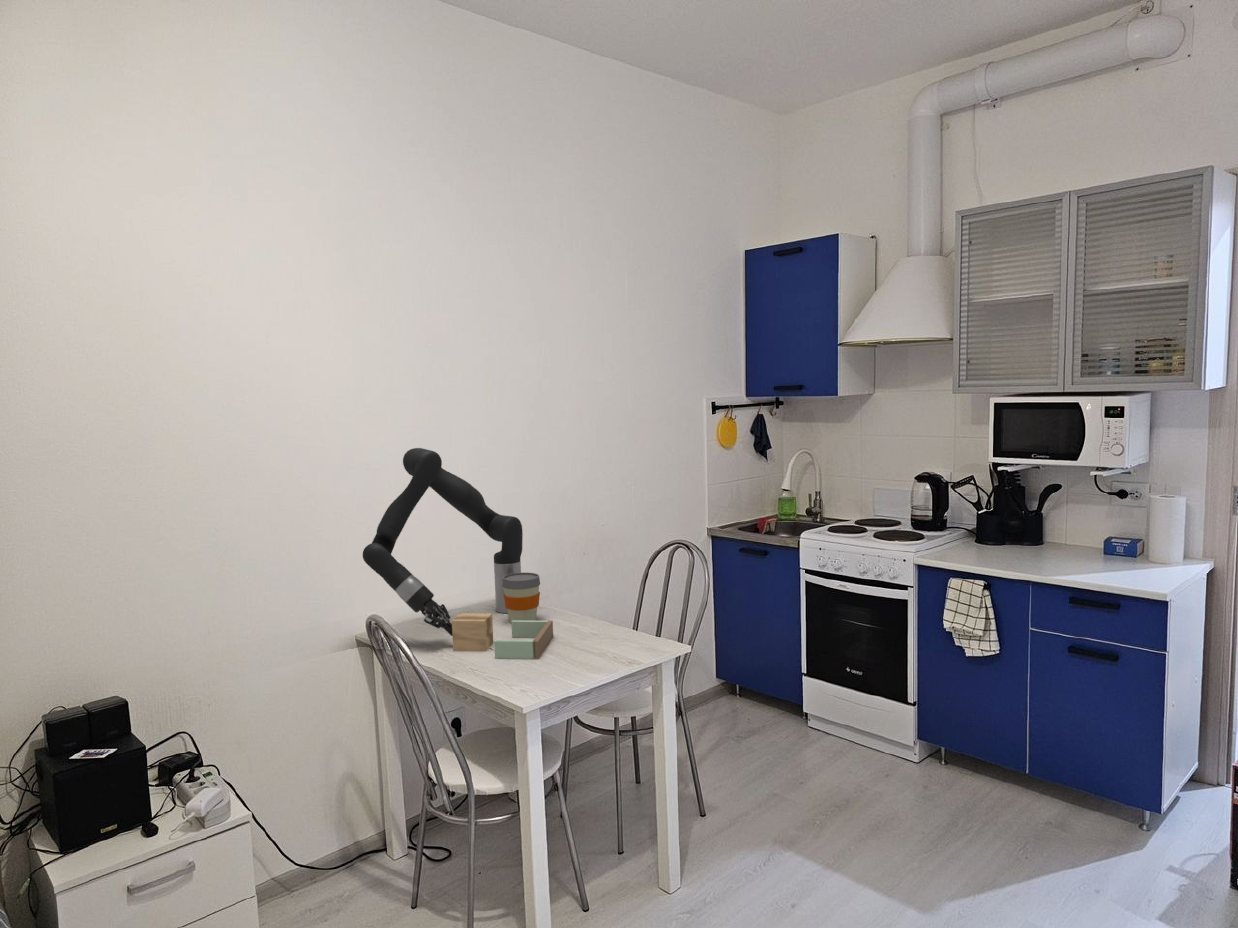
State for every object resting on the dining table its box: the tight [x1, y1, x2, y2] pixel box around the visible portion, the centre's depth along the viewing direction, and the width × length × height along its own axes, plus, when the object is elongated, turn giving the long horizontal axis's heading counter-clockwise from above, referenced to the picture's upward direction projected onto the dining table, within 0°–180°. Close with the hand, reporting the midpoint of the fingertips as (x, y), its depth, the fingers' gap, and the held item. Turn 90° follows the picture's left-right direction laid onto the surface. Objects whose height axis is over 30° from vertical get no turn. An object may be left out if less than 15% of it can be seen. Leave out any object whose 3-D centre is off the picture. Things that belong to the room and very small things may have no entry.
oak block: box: [451, 612, 494, 652], centre depth 245 cm, size 8×10×9 cm
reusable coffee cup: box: [502, 572, 541, 624], centre depth 271 cm, size 13×13×15 cm
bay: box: [493, 620, 554, 660], centre depth 244 cm, size 21×13×5 cm, turn 173°
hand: (455, 633), depth 246 cm, fingers closed
